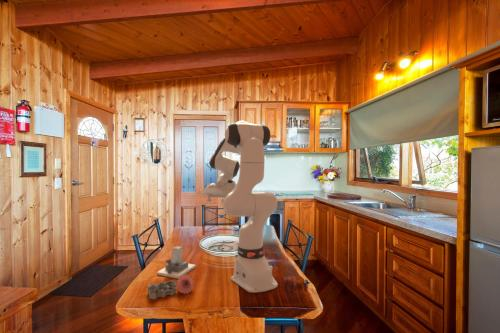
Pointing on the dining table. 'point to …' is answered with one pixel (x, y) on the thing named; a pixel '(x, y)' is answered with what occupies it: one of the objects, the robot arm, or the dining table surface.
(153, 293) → the egg carton
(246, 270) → the robot arm
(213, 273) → the dining table surface
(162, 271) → the keeper board
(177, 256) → the end link
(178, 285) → the flower
